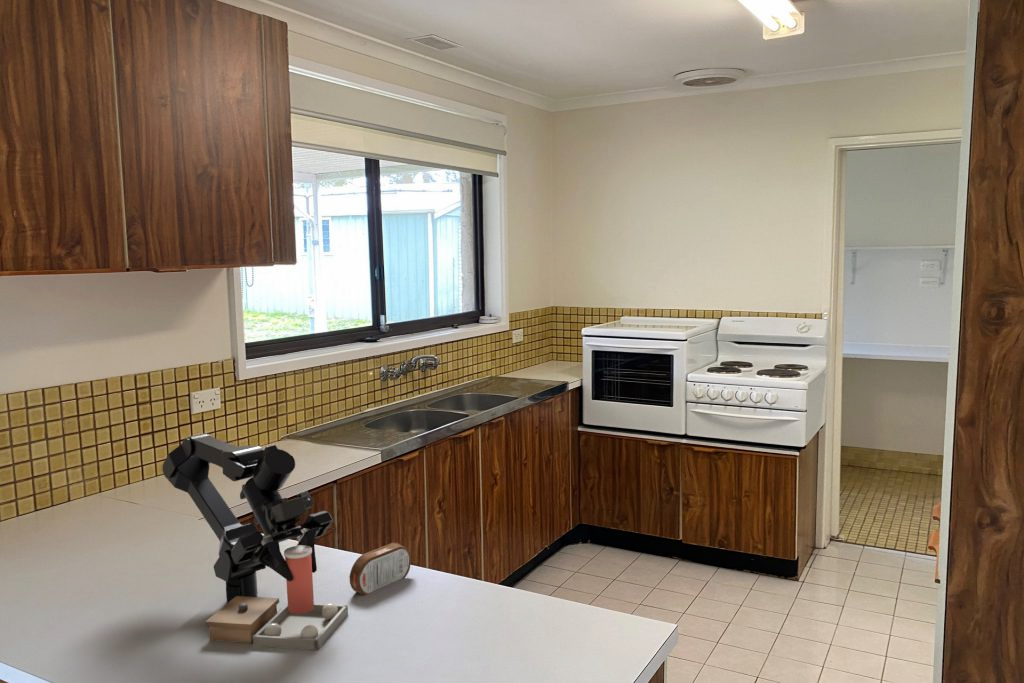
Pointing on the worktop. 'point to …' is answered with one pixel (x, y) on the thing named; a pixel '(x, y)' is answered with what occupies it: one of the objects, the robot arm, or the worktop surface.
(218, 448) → the robot arm
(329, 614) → the pebble
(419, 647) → the worktop surface
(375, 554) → the tin
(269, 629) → the shiny white sphere
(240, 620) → the lidded box
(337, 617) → the tray
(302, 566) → the scoop cup
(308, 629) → the white glossy ball
